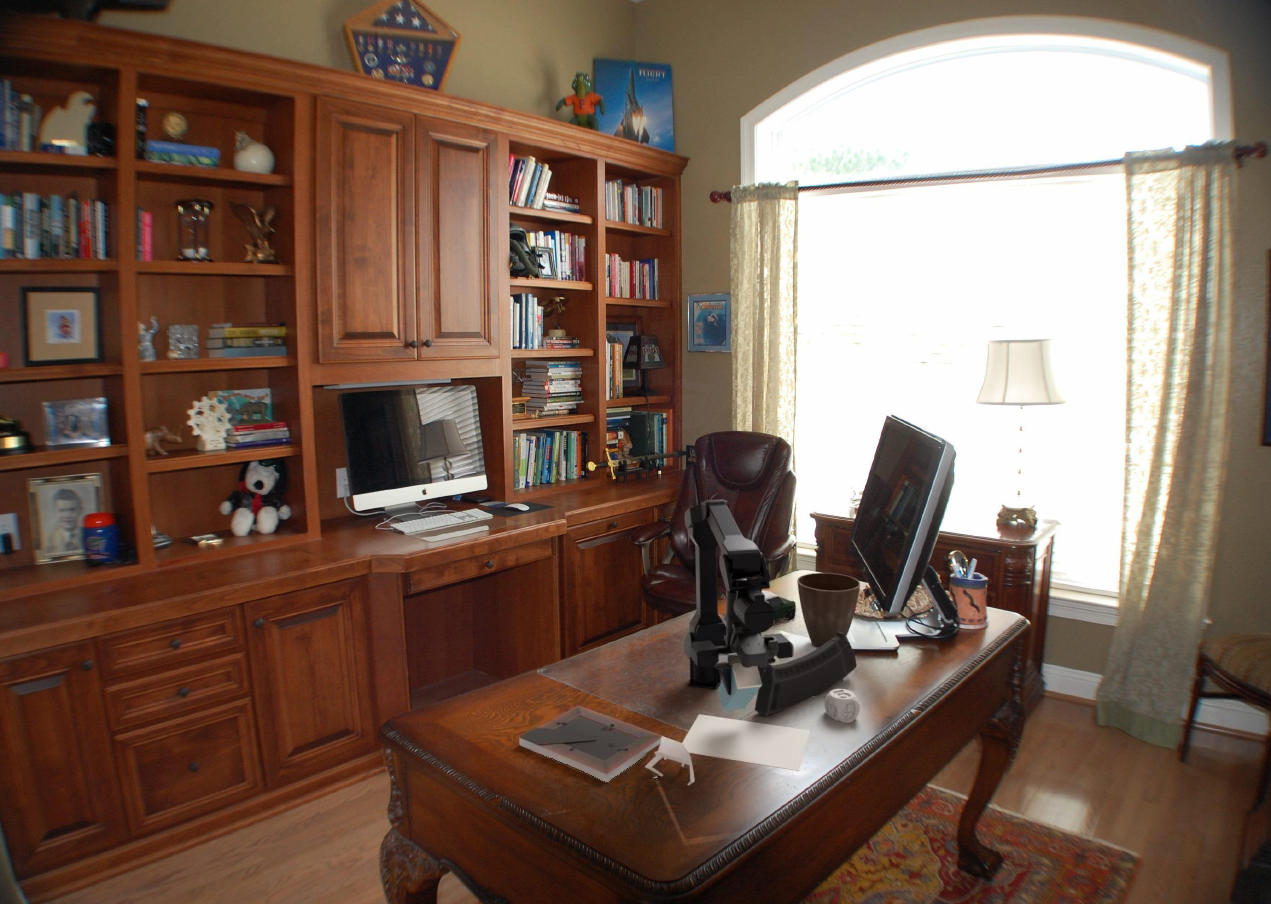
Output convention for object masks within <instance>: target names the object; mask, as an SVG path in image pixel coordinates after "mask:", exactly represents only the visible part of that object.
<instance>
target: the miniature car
mask: <svg viewBox="0 0 1271 904" xmlns="http://www.w3.org/2000/svg"><path fill="white" fill-rule="evenodd" d="M762 593H763V594H764V595H765V600H766V601H767V602H768V603H769V604H770V605H772V607H773V608H774V611H775V614H776V617H775V621H778V620H781V619H784V618H785V619H786V620H788V621H792V620H794V619H795V618H796V613H797V605H796V601H794V600H789V599H787V598H784V597H781V596H779V594H777V593H774V592H772V591H769V590H765V589H762Z"/></svg>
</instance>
